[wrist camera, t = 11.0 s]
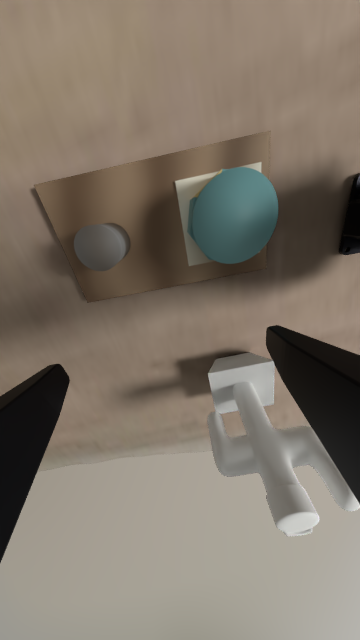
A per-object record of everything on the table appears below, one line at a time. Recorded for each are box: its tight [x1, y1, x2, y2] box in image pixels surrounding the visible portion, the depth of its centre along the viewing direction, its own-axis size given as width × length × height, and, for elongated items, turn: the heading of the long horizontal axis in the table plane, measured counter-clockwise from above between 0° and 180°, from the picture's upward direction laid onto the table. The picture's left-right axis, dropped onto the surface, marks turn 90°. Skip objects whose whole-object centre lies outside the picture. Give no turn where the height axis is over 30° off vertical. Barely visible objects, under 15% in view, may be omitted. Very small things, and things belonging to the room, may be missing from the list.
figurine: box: [207, 352, 360, 536], centre depth 19 cm, size 7×9×15 cm
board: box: [34, 131, 271, 303], centre depth 15 cm, size 18×10×5 cm, turn 101°
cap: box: [187, 167, 278, 264], centre depth 14 cm, size 6×6×4 cm
